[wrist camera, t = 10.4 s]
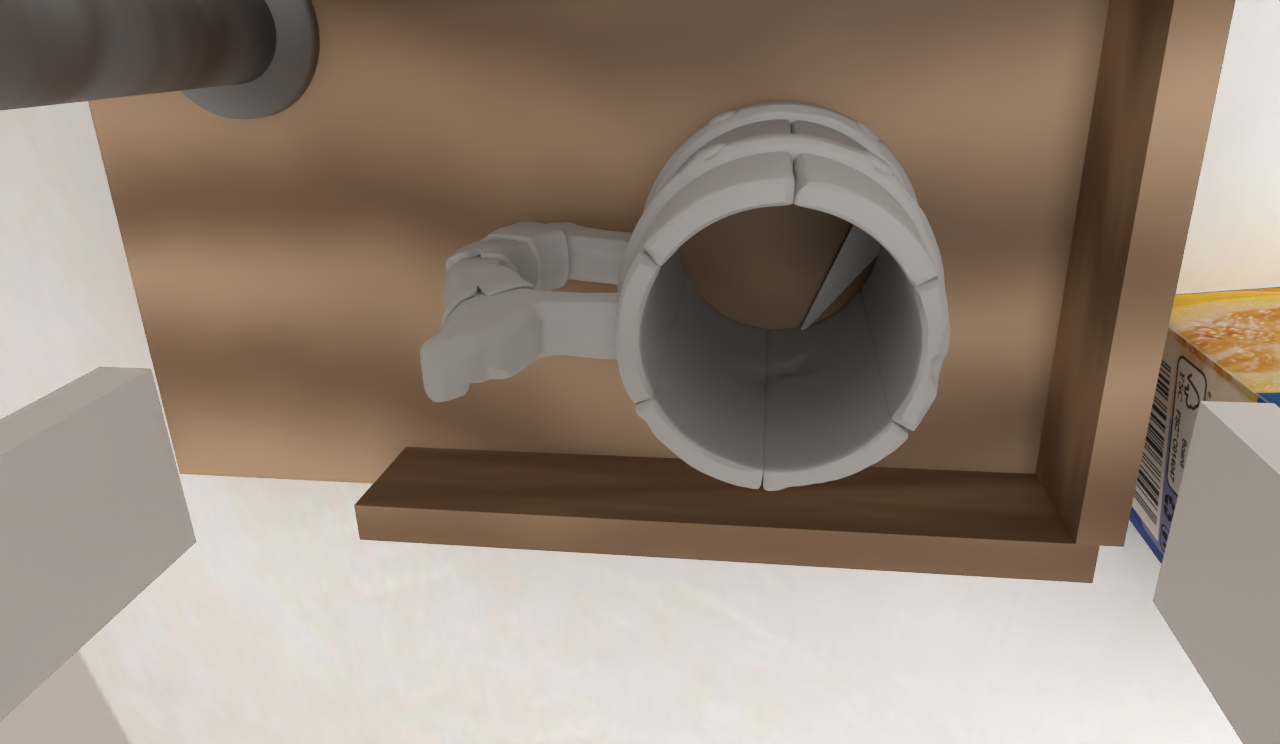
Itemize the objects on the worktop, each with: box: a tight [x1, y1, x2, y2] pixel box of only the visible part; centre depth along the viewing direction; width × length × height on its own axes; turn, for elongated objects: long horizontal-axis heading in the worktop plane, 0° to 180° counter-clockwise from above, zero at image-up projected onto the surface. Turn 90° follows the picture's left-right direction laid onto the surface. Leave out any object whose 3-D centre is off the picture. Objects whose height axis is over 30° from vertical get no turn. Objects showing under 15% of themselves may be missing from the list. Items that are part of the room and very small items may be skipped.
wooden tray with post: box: [0, 0, 1235, 583], centre depth 20 cm, size 18×31×17 cm, turn 91°
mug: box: [420, 101, 950, 491], centre depth 20 cm, size 8×12×12 cm, turn 91°
